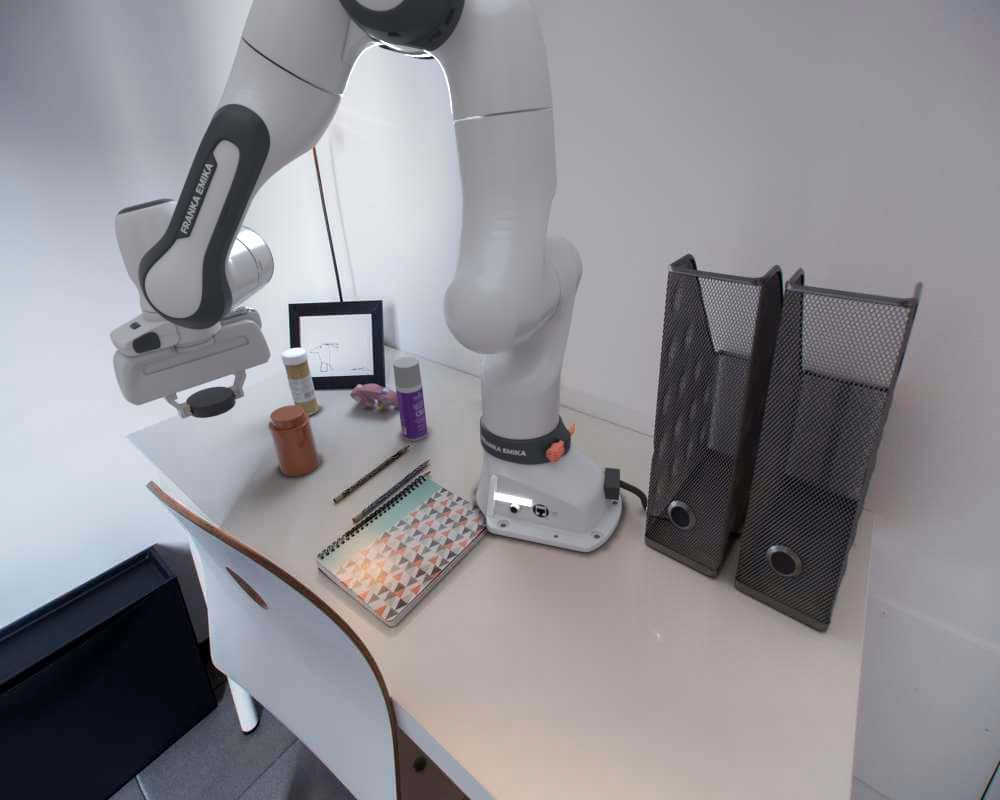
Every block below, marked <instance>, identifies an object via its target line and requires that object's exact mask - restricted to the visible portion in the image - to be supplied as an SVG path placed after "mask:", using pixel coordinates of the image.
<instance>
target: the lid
mask: <svg viewBox="0 0 1000 800" xmlns="http://www.w3.org/2000/svg"><path fill="white" fill-rule="evenodd" d="M185 402H186V403H187V404H188V405H189V406H190V408H191V412H192V413H193V415H192V416H191V417H194V418H197V419H208V418H213V417H217V416H220V415H223V414H225V413H228V412H229V411H230V410H232V409H233V408H234V407H235V406H236V404H237V402H236V400H235V398H234V395H233V392H232V390H231V389H230V388H228V387H227V386H213V387H211V386H210V387H207V388H203V389H200V390H197V391H196V392H194V393H192V394H190V395H189V396H188V397H187V399H186V401H185Z"/></svg>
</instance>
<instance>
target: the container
mask: <svg viewBox="0 0 1000 800" xmlns="http://www.w3.org/2000/svg"><path fill="white" fill-rule="evenodd" d="M392 367H393V377H394V384H395V392H396V393H397V400H398V406H397V407H398V413H399V420H400V427H401V435H402V438H403V439H404V440H406V441H408V442H417V441H421V440H423V439H425V438H426V437H427V436H428V426H427V417H426V416H427V415H426V408H425V397H424V390H423V389H424V388H423V382H422V375H421V368H420V362H419V359H418V358H416V357H413V356H404V357H403V356H402V357H399V358H397V359H395V360H394V361H393V362H392Z"/></svg>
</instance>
